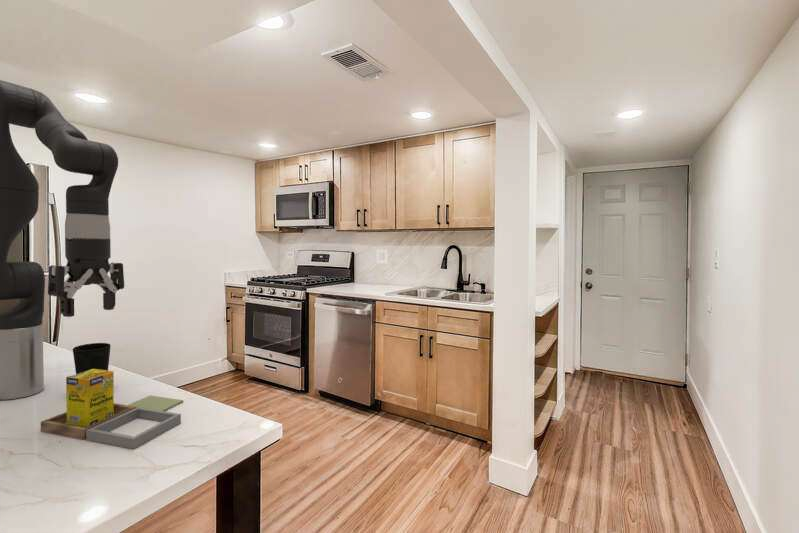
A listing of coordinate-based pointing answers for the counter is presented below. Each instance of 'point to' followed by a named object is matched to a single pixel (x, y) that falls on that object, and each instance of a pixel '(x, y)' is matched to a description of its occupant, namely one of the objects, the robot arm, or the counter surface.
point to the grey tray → (132, 442)
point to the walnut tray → (58, 426)
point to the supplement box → (89, 397)
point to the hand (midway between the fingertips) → (89, 312)
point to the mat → (156, 403)
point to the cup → (91, 357)
